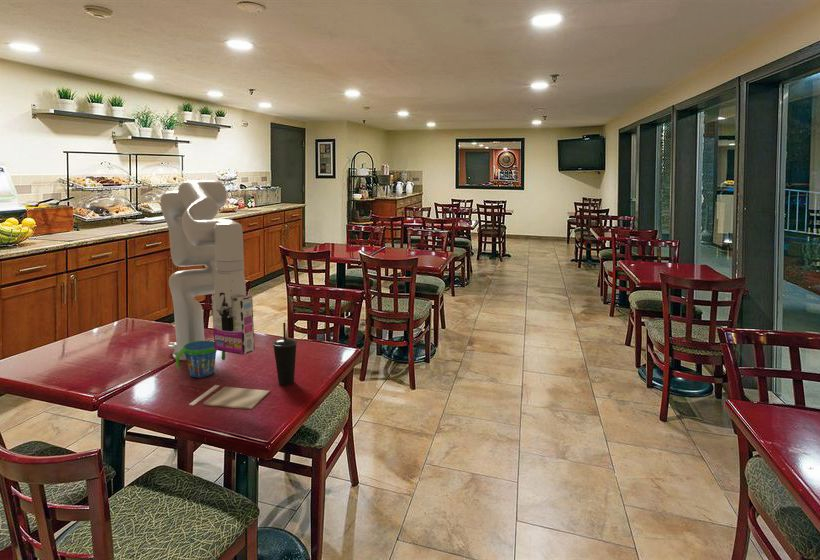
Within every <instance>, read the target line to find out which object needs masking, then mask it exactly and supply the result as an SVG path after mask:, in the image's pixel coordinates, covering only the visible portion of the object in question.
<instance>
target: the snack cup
mask: <svg viewBox="0 0 820 560" xmlns="http://www.w3.org/2000/svg"><path fill="white" fill-rule="evenodd" d="M217 352H218V350H215V348H214V340H213V341H212V340H205V341H196V342H191V343H188V344H186V345H184V346H183V349H182V350H180V351H179V353H178V354H177V357H176V359H175V366H176V368H177V370H178V371H180V370H181V368H180V360H179V357H180V356H181V355H182V354H183V353H185V356H186V360H185V361H186V364H187V367H188V368H187V369H188V372H189V373H188V374H189V376H190V377H192V378H198V379H199V378H201V379H202V378H205V377H208V376H213V374H214V372H215V367H216V366H215V365H216V355H217ZM226 356H227V355H226V352H224V351H221V360H222V361H226Z"/></svg>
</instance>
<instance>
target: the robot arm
mask: <svg viewBox="0 0 820 560" xmlns="http://www.w3.org/2000/svg"><path fill="white" fill-rule="evenodd" d="M227 199H228V192H227V189H226V187H225V185H224V184H223V183H222V182H221V181H220V180H215V179H213V180H212V179H211V180H210V179H192V180H191V179H189V180H186V181H184V182H182V183H181V184H180V185H179V186H178V190H172V191H166V192H164V193H163V194H162V195H161V196H160V201H159V202H160V203H159V204H160V205H159V206H160V210H161V212H162V215H163V218H164V221H166V224H167V228H168V236H169V246H170V249H169V250H170V257H171V261H172V263H173V265H174V266H177V267H179V268H180V267H181V268H182V267H197V266H204V267H205V268H195V269H183V270H179V271H176V272H173V273H172V274H171V275H170V276H169V278H168V286H169V289H170V290H169V291H170V296H171V299H172V304H173V306H172V307H173V315H174V327H175V328H174V329H175V330H174V331H175V342H174V341H173V342H172V341H170V342H169V343H168V346H167V349H169V350H174V351H173V352H172V358H174V360H176V357H177V354H178V353H179V351H180V350H182V349H183V346H184V345H186V344H188V343H191V342H196V341H206V339H205V326H204V311H203V306H202V304H201V303H200V302H199V301H198V300H196V298H195V297H198V296H206V295H213V294H214V295H215V306H216V310H217V311H218V312H219V314H220V317H221V321H222V330H223V331H233V317H231V314H232V307H233V306H234V299H235V298H237V297H239V296H241V295H244V296H247V285H246V284H247V283H246V276H245V258H244V257H245V256H244V254H245V253H244V237H243V234H244V233H243V232H244V231H243V226H242V224H241V223H239V222H236V221H235V220H233V219H229V218H225V219H224V218H223V219H217V218H216V219H215V217H216V216H217V214H218V211H219V210H220V209H222V208H223V207H224V206H225V204H226V202H227ZM225 304H227V305H228V306H225ZM225 309H228V312H227V311H226V310H225ZM179 361H187V360H186V356H185V353H183V354H182V355H181V356H180V357H179Z"/></svg>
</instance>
